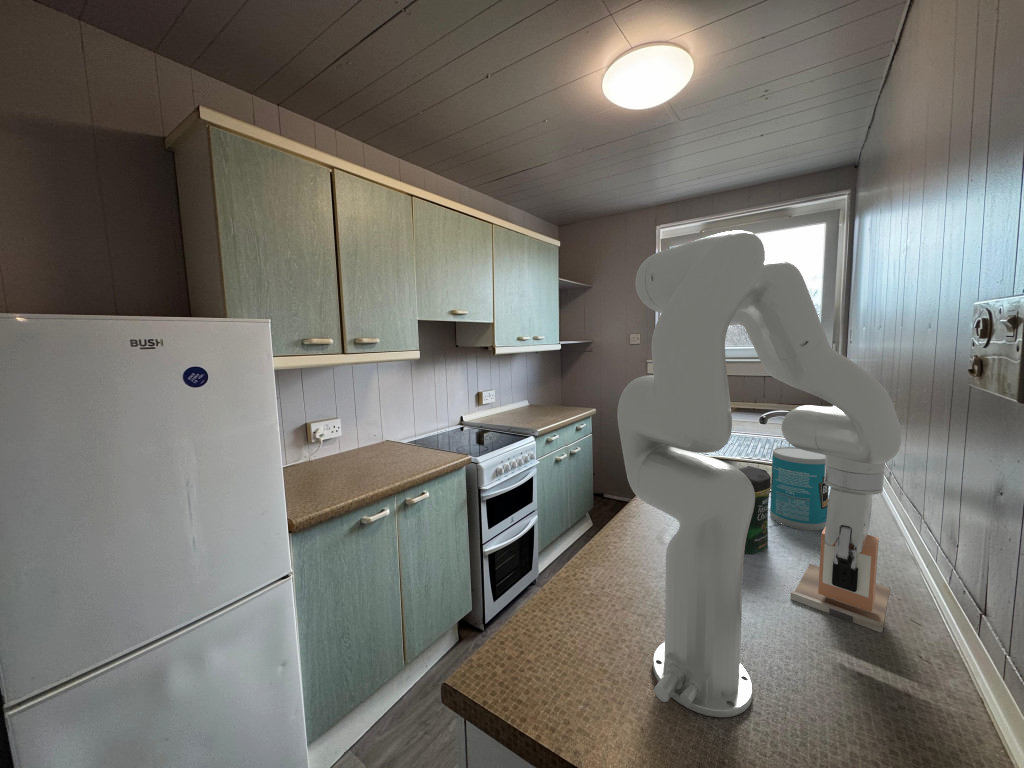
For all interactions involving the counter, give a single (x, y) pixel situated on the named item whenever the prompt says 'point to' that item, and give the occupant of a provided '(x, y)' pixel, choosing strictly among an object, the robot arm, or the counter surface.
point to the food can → (799, 488)
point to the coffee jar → (758, 510)
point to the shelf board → (810, 597)
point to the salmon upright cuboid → (865, 574)
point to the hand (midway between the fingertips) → (846, 580)
